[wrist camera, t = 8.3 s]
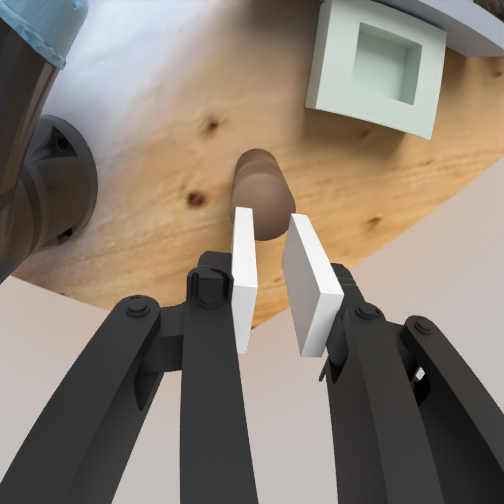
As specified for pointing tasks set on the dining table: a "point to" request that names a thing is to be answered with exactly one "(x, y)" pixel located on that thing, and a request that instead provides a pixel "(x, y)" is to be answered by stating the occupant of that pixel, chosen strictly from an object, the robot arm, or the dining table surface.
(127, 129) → the dining table surface
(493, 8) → the supplement bottle
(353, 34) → the socket block
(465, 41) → the wall
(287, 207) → the dowel
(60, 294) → the dining table surface
